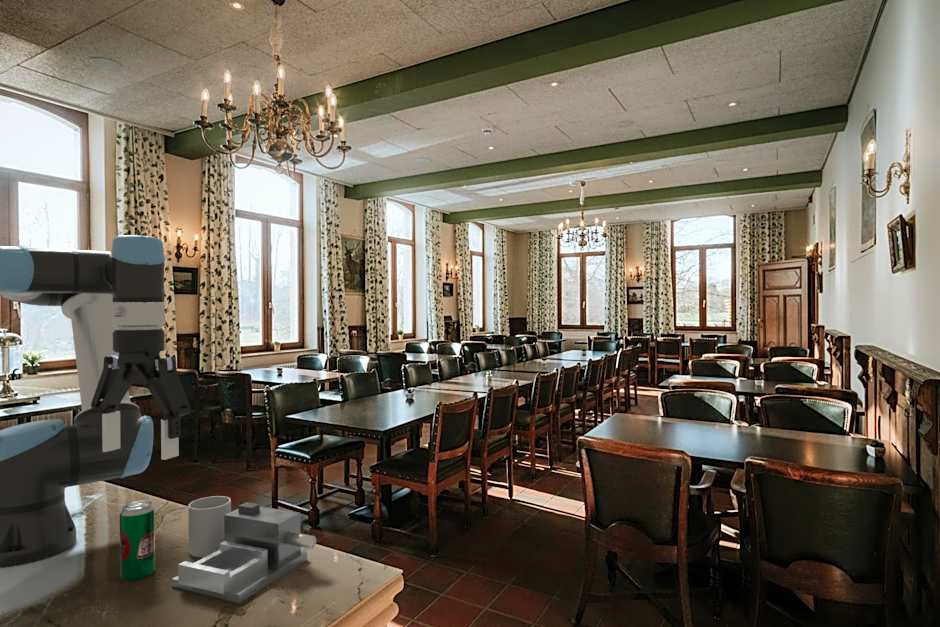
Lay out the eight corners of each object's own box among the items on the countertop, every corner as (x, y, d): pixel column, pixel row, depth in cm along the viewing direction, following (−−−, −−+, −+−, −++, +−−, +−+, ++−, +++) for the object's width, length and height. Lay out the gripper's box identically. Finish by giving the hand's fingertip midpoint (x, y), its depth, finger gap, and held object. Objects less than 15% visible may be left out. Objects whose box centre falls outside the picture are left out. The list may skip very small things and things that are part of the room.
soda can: (143, 583, 91) (143, 510, 91) (113, 583, 91) (112, 510, 91) (161, 569, 96) (160, 499, 96) (132, 569, 96) (131, 499, 96)
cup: (199, 562, 98) (199, 512, 98) (175, 547, 104) (174, 500, 104) (238, 548, 104) (238, 501, 104) (213, 535, 110) (212, 490, 110)
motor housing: (167, 590, 88) (167, 529, 88) (246, 548, 104) (245, 496, 104) (255, 611, 82) (254, 546, 82) (324, 563, 97) (324, 508, 97)
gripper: (65, 328, 94) (66, 452, 94) (175, 330, 85) (176, 467, 86) (108, 326, 101) (109, 442, 101) (213, 328, 92) (214, 455, 93)
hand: (140, 454), depth 93 cm, fingers open, 13 cm apart
